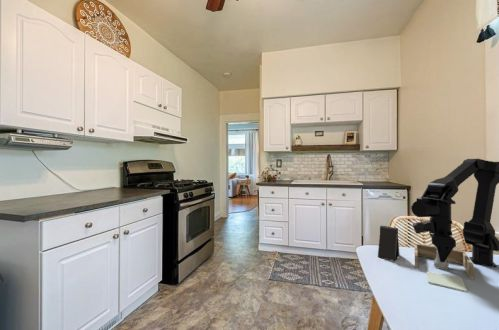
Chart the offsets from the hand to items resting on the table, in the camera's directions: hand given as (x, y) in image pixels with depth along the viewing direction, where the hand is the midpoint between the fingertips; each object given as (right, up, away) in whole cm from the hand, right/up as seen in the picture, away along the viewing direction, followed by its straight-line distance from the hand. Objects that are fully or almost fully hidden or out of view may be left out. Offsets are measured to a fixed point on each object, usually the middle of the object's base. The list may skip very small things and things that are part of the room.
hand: (441, 258), depth 84 cm
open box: (+1, -3, +2) cm, 4 cm away
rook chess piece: (0, -3, 0) cm, 3 cm away
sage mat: (-8, -3, -11) cm, 13 cm away
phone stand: (-13, -4, +10) cm, 17 cm away
